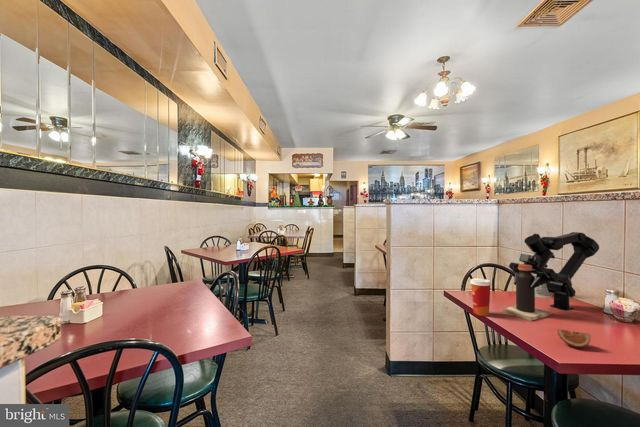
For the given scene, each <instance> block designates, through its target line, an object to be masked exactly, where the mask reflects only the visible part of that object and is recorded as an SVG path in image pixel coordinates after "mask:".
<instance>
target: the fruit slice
mask: <svg viewBox="0 0 640 427" xmlns="http://www.w3.org/2000/svg"><path fill="white" fill-rule="evenodd" d="M556 329H557V328H556ZM557 335H558V336H559V337H558V338H559V339H561V340H562V341H563V342H564V343H565V344H567V345H569V346H571V347H573V348H577V349H581V348H585V347H586V346H588V345H589V344H590V342H591V334H590V333H586V332H579V331H569V330H565V329H559V328H558V329H557Z"/></svg>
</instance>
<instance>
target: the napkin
mask: <svg viewBox="0 0 640 427" xmlns="http://www.w3.org/2000/svg"><path fill="white" fill-rule="evenodd" d="M501 313H504V314H506V315H509V316H513V317H517V318H520V319H523V320H525V321H529V322H530V321H531V322H532V321H536V320H539V319H543V318H546V317H549V316H550V315H551V311H548V310H545V309H540V308H536V307H535V311H534V312H523V311H520V310H517V309H516V304H515V305H511V306H508V307H505V308H501Z"/></svg>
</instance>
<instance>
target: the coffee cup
mask: <svg viewBox="0 0 640 427" xmlns="http://www.w3.org/2000/svg"><path fill="white" fill-rule="evenodd" d="M469 282H470V286H471V289H470V290H471V300H472V313H473V315H476V316H478V317H479V316H480V317H488V316H489V315H490V298H491V285H492V283H491V280H489V279H486V278H480V277H479V278H476V277H475V278H471V279H470V281H469Z"/></svg>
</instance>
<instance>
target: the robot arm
mask: <svg viewBox="0 0 640 427" xmlns="http://www.w3.org/2000/svg"><path fill="white" fill-rule="evenodd" d="M524 243H525V244H526V246H527V247H528V249H529V250H530V251H531V252H532V253H534V254H533V255H530V254H526V253H521V254H520V255H519V258H518V259H519V260H518V261H519V262H522V264H529V265H532V272H531V274H532V275H535V276H536V278H535V280H534V281H533V283H532V285H531V287H530V288H531V289H534V288H537V287H538V286H540V285H542V284H545V283H546V285H547V289H548V292H550V294H553V304H550V305H549V306H550V307H551V308H552V307H553V308H557V309H560V310H562V311H563V310H564V311H568V310H572V309H574V306H571V305H570V298H574V297H575V296H576V290H575V288H574V287H573V282H572V279H573V277H574V276H575V275H576V273H577V272H578V271H579V269H580V267H581V266H582V265H583V264H584V262H585V261H586V260H587V259H588V258H591V257H593V256H595V255H596V254H597V252H598V251H599V250H600V245H599V244H598V243H597V241H596V240H595V239H593V238H592V237H590V236H587V235H586V234H585V233H584V232H577V231H576V232H574V231H572V232H570V233H566V234H562V235H557V236H542V237H541V235H540V234H539V233H533V234H532V235H529V236H527V237H526V238H524ZM566 245H571V246H572V248H573V253H572V255H571V256H570V257H569V258H568V260H567V261H566V262H565V264H564V265H563V267H562V268H561V269H560V271H559V272H556V271H555V270H554V269H553V268H548V262H549V261H550V259H556V258H555V255H554V252H552V251H559V250H561V249H563V248H564V246H566ZM551 250H552V251H551ZM518 264H520V263H518V262H510V263H509V265H508V268H509V269H510V270H511V271H512V272H513V274H514V277H513V278H514V280H513V284H514V286H516V275H517V274H518V273H519V269H518ZM544 267H545V268H544ZM540 287H541V286H540Z"/></svg>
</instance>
